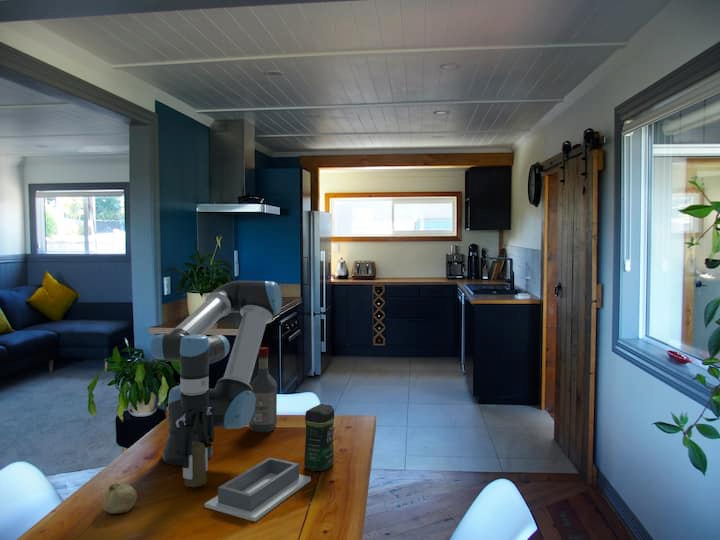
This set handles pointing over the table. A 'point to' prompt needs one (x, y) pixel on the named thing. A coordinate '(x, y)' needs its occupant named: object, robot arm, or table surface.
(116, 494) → the onion
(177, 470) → the table surface
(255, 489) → the slot well
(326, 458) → the coffee jar
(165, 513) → the table surface
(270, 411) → the liquor
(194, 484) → the cork
